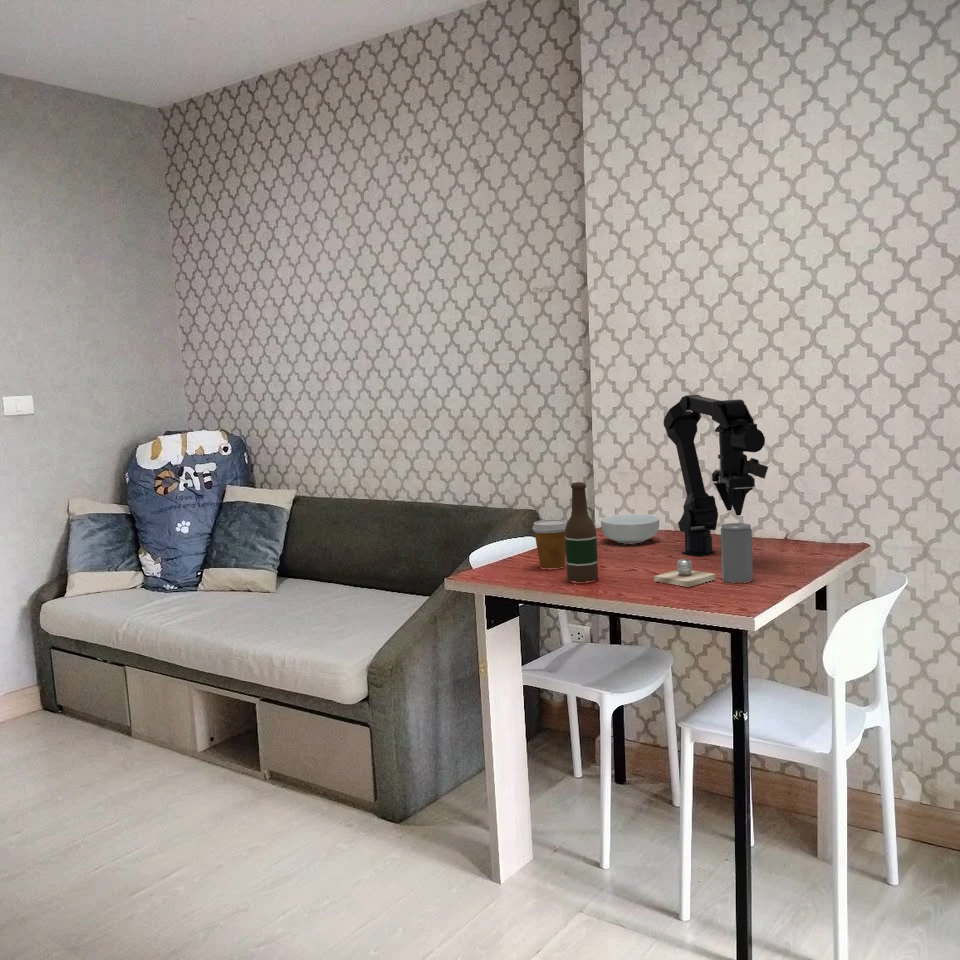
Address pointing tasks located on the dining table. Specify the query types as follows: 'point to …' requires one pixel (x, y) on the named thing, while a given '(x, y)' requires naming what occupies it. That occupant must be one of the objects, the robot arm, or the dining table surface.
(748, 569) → the charcoal can
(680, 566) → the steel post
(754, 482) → the robot arm
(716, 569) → the dining table surface
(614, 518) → the cereal bowl
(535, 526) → the disposable coffee cup
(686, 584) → the birch base
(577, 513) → the beer bottle
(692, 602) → the dining table surface
